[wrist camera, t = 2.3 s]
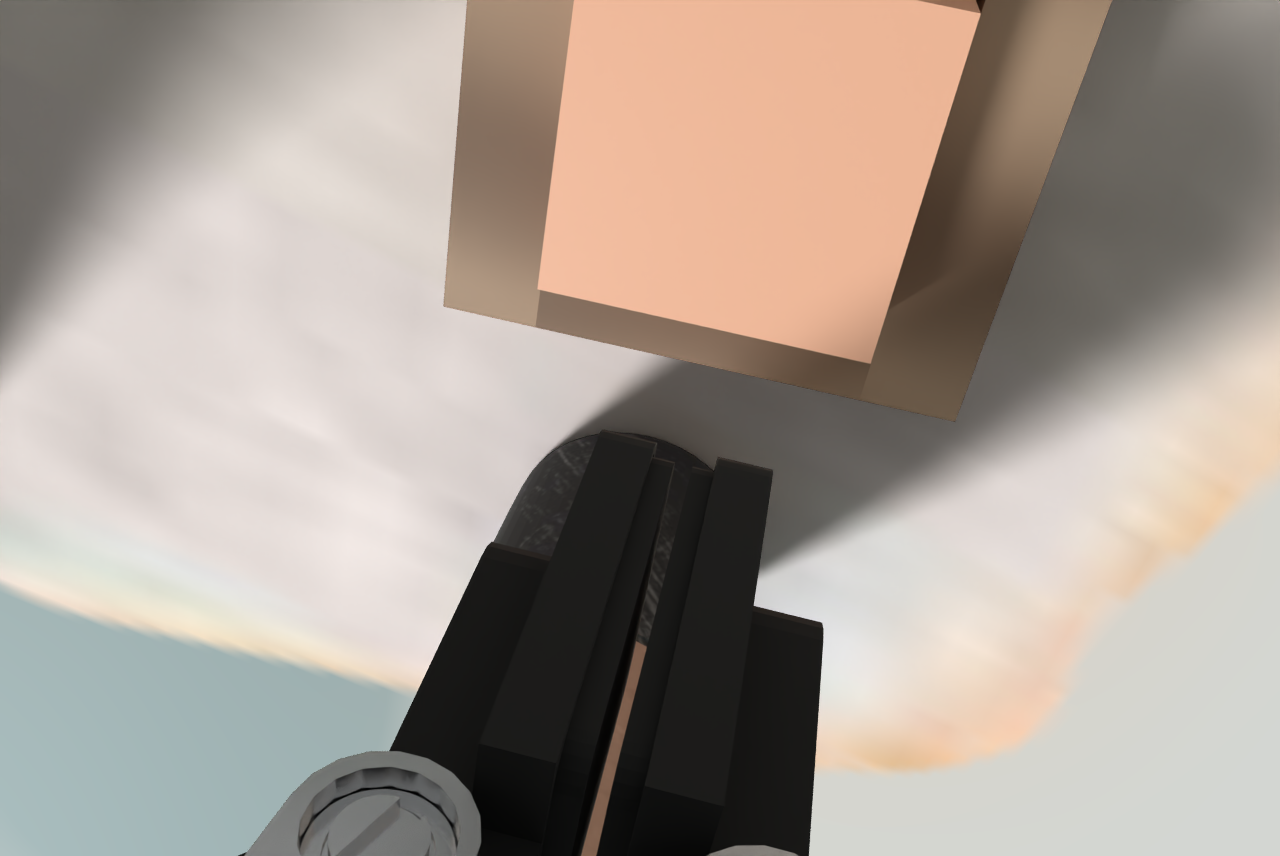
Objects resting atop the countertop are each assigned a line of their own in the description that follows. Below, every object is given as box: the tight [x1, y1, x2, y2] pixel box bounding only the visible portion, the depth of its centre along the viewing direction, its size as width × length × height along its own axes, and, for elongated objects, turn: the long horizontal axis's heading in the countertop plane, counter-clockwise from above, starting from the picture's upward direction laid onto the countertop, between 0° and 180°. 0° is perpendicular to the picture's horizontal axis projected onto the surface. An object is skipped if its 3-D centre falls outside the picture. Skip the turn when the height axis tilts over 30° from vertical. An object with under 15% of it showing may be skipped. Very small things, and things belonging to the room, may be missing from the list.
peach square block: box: [537, 0, 981, 364], centre depth 24 cm, size 7×7×5 cm
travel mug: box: [494, 433, 712, 856], centre depth 27 cm, size 8×8×20 cm
